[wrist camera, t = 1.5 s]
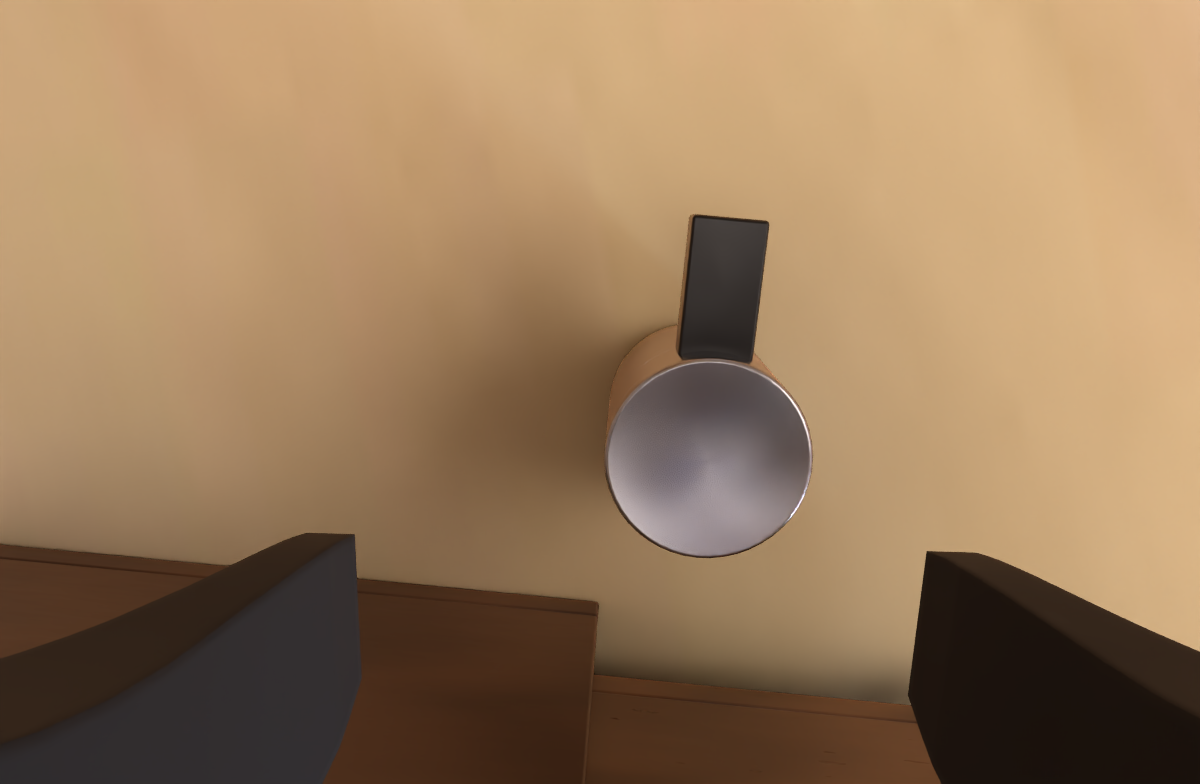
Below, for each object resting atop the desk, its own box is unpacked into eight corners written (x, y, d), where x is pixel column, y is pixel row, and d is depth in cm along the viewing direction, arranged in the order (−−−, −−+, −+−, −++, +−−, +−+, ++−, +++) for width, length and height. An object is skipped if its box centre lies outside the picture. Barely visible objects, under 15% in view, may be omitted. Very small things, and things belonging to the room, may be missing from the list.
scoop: (760, 487, 22) (798, 568, 17) (602, 472, 22) (595, 549, 17) (795, 223, 20) (847, 228, 15) (627, 208, 20) (626, 208, 15)
